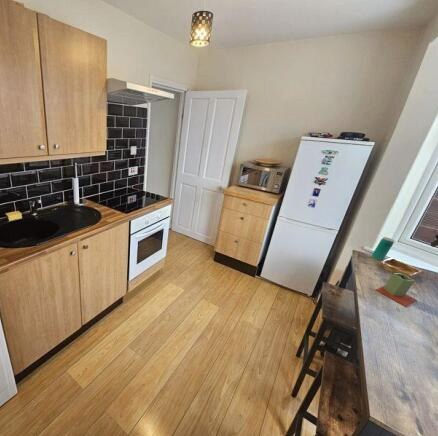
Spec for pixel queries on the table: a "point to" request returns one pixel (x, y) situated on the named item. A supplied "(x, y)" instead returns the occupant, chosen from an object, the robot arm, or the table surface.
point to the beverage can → (382, 248)
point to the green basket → (398, 284)
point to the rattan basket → (399, 267)
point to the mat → (398, 297)
